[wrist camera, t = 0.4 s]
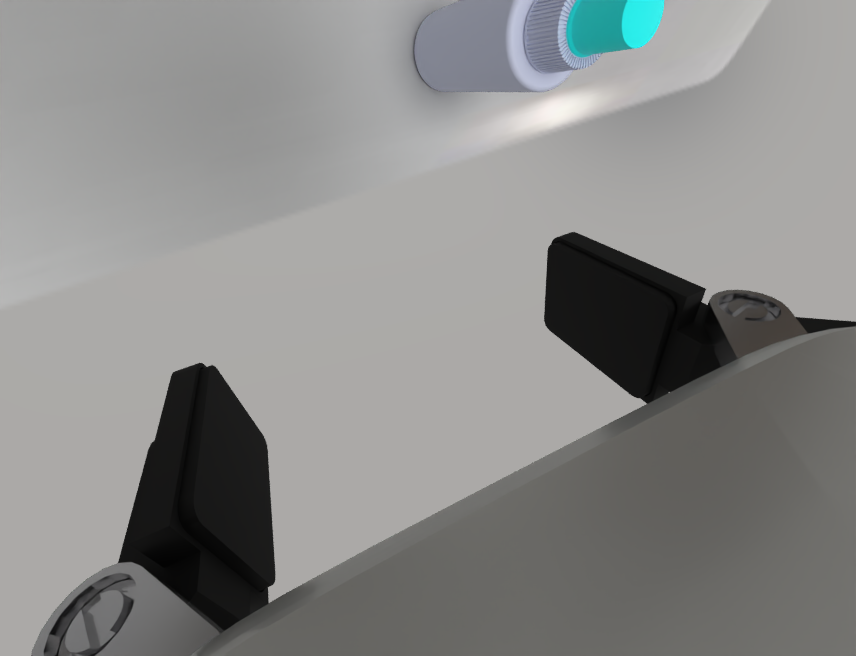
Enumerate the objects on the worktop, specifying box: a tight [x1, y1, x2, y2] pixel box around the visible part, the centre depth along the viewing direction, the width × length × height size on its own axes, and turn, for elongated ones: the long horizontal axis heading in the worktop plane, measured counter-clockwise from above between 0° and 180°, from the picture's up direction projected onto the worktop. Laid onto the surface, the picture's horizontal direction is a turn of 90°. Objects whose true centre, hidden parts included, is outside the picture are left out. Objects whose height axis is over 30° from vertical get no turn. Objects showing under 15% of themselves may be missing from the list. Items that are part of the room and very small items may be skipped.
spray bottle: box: [414, 0, 664, 92], centre depth 25 cm, size 6×6×22 cm
